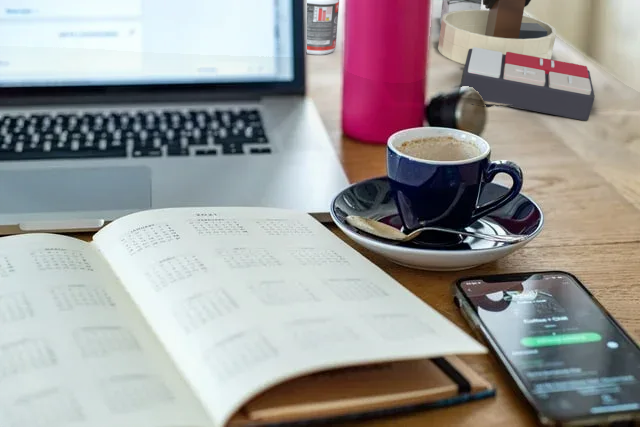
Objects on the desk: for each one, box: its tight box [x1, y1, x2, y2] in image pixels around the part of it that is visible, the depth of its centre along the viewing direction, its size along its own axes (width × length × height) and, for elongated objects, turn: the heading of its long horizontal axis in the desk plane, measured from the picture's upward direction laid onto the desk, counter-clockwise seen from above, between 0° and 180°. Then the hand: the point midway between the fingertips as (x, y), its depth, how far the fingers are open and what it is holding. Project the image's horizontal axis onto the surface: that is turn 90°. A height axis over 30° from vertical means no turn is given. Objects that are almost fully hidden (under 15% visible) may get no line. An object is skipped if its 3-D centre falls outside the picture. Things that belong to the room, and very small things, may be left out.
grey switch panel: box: [459, 47, 595, 122], centre depth 105 cm, size 11×4×15 cm
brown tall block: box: [485, 0, 526, 39], centre depth 116 cm, size 4×4×12 cm
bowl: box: [437, 9, 557, 66], centre depth 119 cm, size 15×15×5 cm
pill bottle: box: [306, 0, 340, 56], centre depth 116 cm, size 6×6×10 cm
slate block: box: [519, 23, 548, 39], centre depth 119 cm, size 4×4×4 cm
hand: (502, 3), depth 117 cm, fingers closed on brown tall block, 3 cm apart
